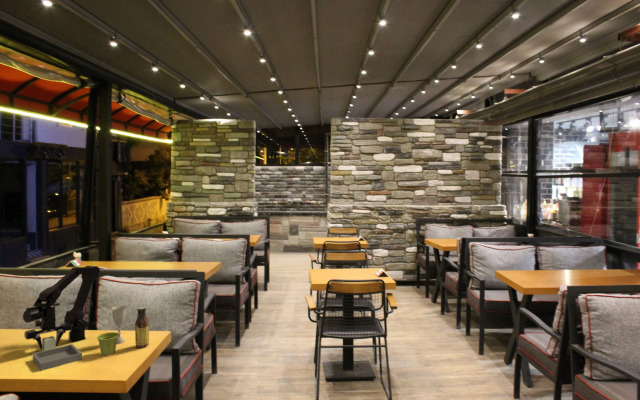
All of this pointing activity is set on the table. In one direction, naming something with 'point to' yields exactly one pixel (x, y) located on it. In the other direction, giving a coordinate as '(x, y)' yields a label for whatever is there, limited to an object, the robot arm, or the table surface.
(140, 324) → the sauce bottle
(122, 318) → the chalice
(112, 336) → the plant pot
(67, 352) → the tray
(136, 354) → the table surface
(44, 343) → the sage block
